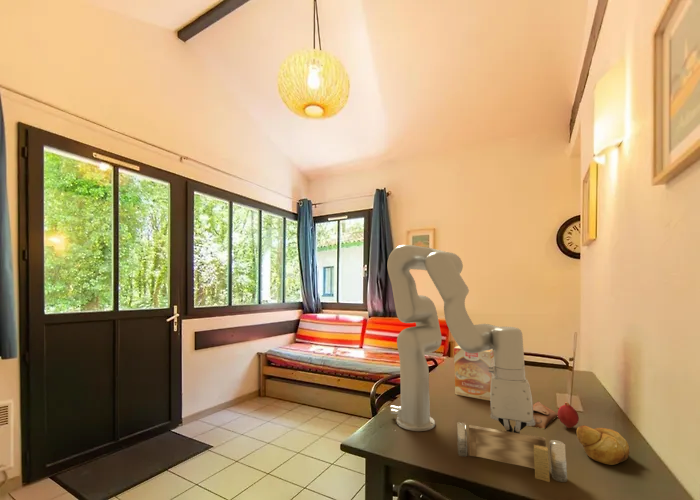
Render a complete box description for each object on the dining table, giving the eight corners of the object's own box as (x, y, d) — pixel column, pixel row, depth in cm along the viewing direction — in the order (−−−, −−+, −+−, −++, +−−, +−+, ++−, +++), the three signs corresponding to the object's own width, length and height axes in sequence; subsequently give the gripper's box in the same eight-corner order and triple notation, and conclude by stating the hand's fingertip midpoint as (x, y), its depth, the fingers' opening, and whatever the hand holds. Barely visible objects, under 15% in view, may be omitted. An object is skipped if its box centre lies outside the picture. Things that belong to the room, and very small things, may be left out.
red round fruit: (559, 422, 113) (558, 397, 114) (580, 427, 109) (578, 401, 110) (557, 428, 108) (555, 402, 109) (578, 433, 105) (576, 406, 105)
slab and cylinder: (535, 478, 80) (533, 443, 81) (535, 469, 84) (533, 435, 85) (567, 486, 77) (565, 449, 78) (566, 476, 81) (564, 442, 82)
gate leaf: (469, 455, 90) (468, 427, 91) (470, 452, 92) (469, 424, 92) (547, 471, 82) (545, 440, 83) (546, 467, 84) (544, 437, 85)
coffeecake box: (454, 394, 141) (453, 347, 143) (459, 390, 147) (458, 344, 149) (492, 401, 133) (490, 351, 135) (496, 396, 139) (494, 348, 141)
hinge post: (457, 455, 91) (456, 424, 92) (459, 451, 93) (458, 421, 94) (466, 457, 90) (465, 426, 91) (468, 453, 92) (467, 423, 93)
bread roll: (603, 445, 97) (601, 416, 98) (643, 461, 88) (640, 429, 89) (573, 454, 92) (571, 423, 93) (612, 472, 83) (610, 438, 84)
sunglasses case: (545, 429, 107) (533, 408, 110) (526, 435, 111) (514, 414, 114) (561, 414, 119) (549, 395, 122) (543, 420, 123) (532, 402, 126)
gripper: (478, 373, 91) (481, 444, 89) (541, 380, 84) (546, 458, 82) (482, 367, 98) (485, 434, 96) (541, 373, 90) (546, 445, 88)
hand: (513, 445), depth 89 cm, fingers closed
